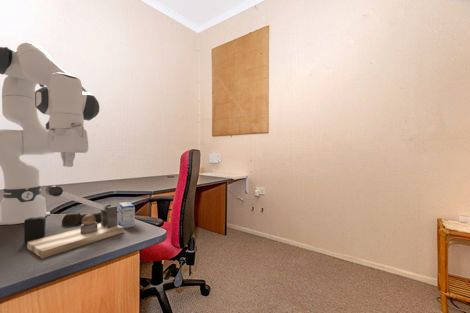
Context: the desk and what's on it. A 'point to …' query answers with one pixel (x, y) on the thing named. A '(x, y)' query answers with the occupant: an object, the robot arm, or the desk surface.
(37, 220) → the ink cartridge
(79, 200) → the lever
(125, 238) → the desk surface
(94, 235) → the cracker base
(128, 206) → the medicine box
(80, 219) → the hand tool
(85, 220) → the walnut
